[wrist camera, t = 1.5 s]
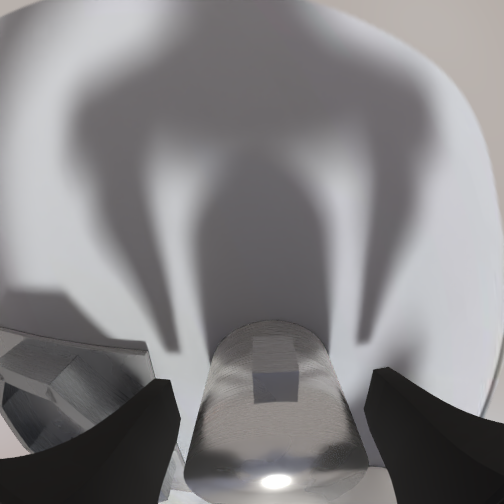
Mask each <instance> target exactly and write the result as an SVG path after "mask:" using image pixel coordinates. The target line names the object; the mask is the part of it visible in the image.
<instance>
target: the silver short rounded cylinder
mask: <svg viewBox="0 0 504 504" xmlns="http://www.w3.org/2000/svg"><path fill="white" fill-rule="evenodd" d="M368 464H369V461H368V457H367V454H366V451H365V449H364V446H363V443H362V440H361V438H360V435H359V432H358V430H357V427H356V424H355V422H354V419H353V417H352V414H351V411H350V409H349V406H348V404H347V401H346V398H345V396H344V393H343V391H342V388H341V386H340V383H339V381H338V378H337V376H336V373H335V371H334V368H333V366H332V363H331V361H330V358H329V356H328V353H327V351H326V349H325V347H324V345H323V343H322V342H321V341H320V339H319V338H318V337H317V336H316V335H315V334H314V333H312V332H311V331H309V330H308V329H306V328H304V327H302V326H300V325H297V324H295V323H291V322H287V321H279V320H267V321H259V322H254V323H250V324H248V325H245V326H242V327H240V328H238V329H236V330H235V331H233V332H232V333H230V334H229V335H228V336H226V337H225V338H224V339H223V340H222V341H221V343H220V344H219V345H218V347H217V348H216V350H215V353H214V355H213V358H212V362H211V366H210V370H209V374H208V377H207V381H206V385H205V389H204V393H203V397H202V401H201V404H200V408H199V412H198V416H197V420H196V424H195V428H194V432H193V436H192V440H191V444H190V448H189V452H188V456H187V460H186V464H185V468H184V472H183V476H184V480H185V483H186V484H187V486H188V487H189V488H190V489H191V490H192V492H194V493H195V494H196V495H197V496H199V497H200V498H202V499H204V500H205V501H207V502H209V503H212V504H325V503H328V502H330V501H332V500H334V499H336V498H338V497H340V496H342V495H344V494H345V493H347V492H348V491H350V490H351V489H352V488H354V487H355V486H356V485H357V484H358V483H359V482H360V481H361V480H362V478H363V477H364V475H365V474H366V472H367V469H368Z"/></svg>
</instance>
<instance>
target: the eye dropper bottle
mask: <svg viewBox="0 0 504 504" xmlns="http://www.w3.org/2000/svg"><path fill="white" fill-rule="evenodd" d="M325 504H397V500H396V496H395V492H394V488H393V485H392V481H391V478H390V476H389V473H388V471H387V469H386V468H382V467H368V469H367V472H366V474H365V475H364V477H363V478H362V480H361V481H360V482H359V483H358V484H357V485H356V486H355V487H354V488H352V489H351V490H350V491H348V492H347V493H345V494H344V495H342V496H340V497H338V498H336V499H334V500H332V501H330V502H328V503H325Z"/></svg>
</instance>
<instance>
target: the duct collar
mask: <svg viewBox="0 0 504 504" xmlns="http://www.w3.org/2000/svg"><path fill="white" fill-rule="evenodd" d="M154 378H155V376H154V372H153V369H152V365H151V361H150V357H149V353H148V351H144V350H132V349H122V348H112V347H104V346H96V345H89V344H82V343H75V342H69V341H63V340H57V339H52V338H47V337H42V336H37V335H32V334H28V333H23V332H19V331H15V330H11V329H7V328H3V327H0V413H1V415H2V417H3V418H4V420H5V421H6V423H7V424H8V426H9V427H10V429H11V430H12V432H13V433H14V435H15V436H16V437H17V439H18V440H19V441H20V443H21V444H22V446H23V447H24V448H25V449H26V450H27V451H28V452H30V453H31V454H33V453H37V452H40V451H43V450H46V449H49V448H52V447H54V446H57V445H59V444H61V443H64V442H66V441H69V440H71V439H73V438H75V437H76V436H78V435H80V434H82V433H84V432H86V431H87V430H89V429H91V428H92V427H94V426H95V425H97V424H98V423H100V422H101V421H102V420H104V419H105V418H107V417H108V416H109V415H111V414H112V413H113V412H115V411H116V410H117V409H119V408H120V407H121V406H122V405H124V404H125V403H126V402H127V401H128V400H130V399H131V398H132V397H133V396H134V395H136V394H137V393H138V392H139V391H140V390H141V389H143V388H144V387H145V386H146V385H147V384H148V383H149V382H151V381H152V380H153V379H154ZM184 468H185V463H184V461H183V458H182V456H181V453H180V451H179V448H178V446H177V443H176V445H175V448H174V451H173V454H172V457H171V460H170V463H169V466H168V469H167V472H166V475H165V478H164V481H163V484H162V487H161V491H160V495H159V500H158V502H162V501H166V500H168V497H169V493H170V489H172V490H179V491H186V492H192V490H191V489H190V488H189V487H188V486H187V484H186V483H185V480H184V476H183V472H184Z"/></svg>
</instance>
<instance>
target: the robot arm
mask: <svg viewBox="0 0 504 504" xmlns="http://www.w3.org/2000/svg"><path fill="white" fill-rule="evenodd" d="M364 412H365V415H366V419H367V423H368V426H369V429H370V432H371V434H372V437H373V439H374V441H375V443H376V446H377V448H378V450H379V452H380V455H381V457H382V459H383V461H384V464H385V466H386V468H387V471H388V473H389V476H390V478H391V481H392V485H393V488H394V492H395V496H396V500H397V504H504V424H503V423H499V422H495V421H491V420H487V419H484V418H481V417H478V416H475V415H472V414H470V413H467V412H465V411H462V410H460V409H458V408H456V407H454V406H452V405H450V404H448V403H446V402H444V401H442V400H440V399H439V398H437V397H435V396H433V395H432V394H430V393H428V392H427V391H425V390H424V389H422V388H420V387H419V386H417V385H416V384H414V383H413V382H411V381H410V380H408V379H407V378H405V377H404V376H402V375H401V374H399V373H397V372H396V371H394V370H393V369H391V368H389V367H385V368H380V369H374V370H373V374H372V379H371V383H370V387H369V391H368V395H367V399H366V403H365V406H364ZM180 420H181V417H180V414H179V410H178V407H177V404H176V400H175V396H174V393H173V389H172V385H171V381H170V380H166V379H155V378H154V379H153V380H152V381H151V382H149V383H148V384H147V385H146V386H145V387H144V388H143V389H141V390H140V391H139V392H138V393H137V394H136V395H134V396H133V397H132V398H131V399H130V400H128V401H127V402H126V403H125V404H124V405H122V406H121V407H120V408H119V409H117V410H116V411H115V412H113V413H112V414H111V415H109V416H108V417H107V418H105V419H104V420H102V421H101V422H100V423H98V424H97V425H95V426H94V427H92V428H91V429H89V430H87V431H86V432H84V433H82V434H80V435H78V436H76V437H75V438H73V439H71V440H69V441H66V442H64V443H61V444H59V445H57V446H54V447H52V448H49V449H46V450H43V451H40V452H37V453H33V454H29V455H25V456H20V457H15V458H6V459H0V504H158V500H159V495H160V491H161V487H162V484H163V481H164V478H165V475H166V472H167V469H168V466H169V463H170V460H171V457H172V454H173V451H174V448H175V445H176V442H177V437H178V432H179V426H180Z"/></svg>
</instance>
